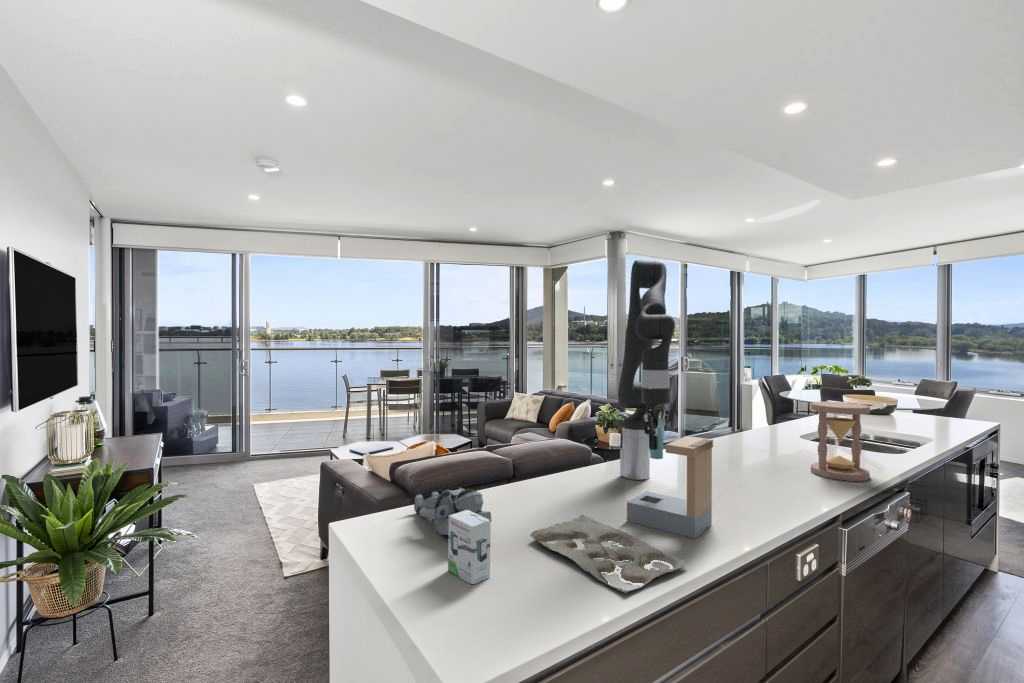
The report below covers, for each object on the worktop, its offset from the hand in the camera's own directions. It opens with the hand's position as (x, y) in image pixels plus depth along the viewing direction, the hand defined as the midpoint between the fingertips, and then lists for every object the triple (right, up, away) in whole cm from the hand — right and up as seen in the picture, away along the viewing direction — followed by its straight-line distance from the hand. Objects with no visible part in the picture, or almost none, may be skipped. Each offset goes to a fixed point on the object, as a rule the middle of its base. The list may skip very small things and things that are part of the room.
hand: (656, 448), depth 136 cm
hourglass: (+77, -18, +39) cm, 88 cm away
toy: (-56, -18, -10) cm, 60 cm away
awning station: (+1, -18, -7) cm, 19 cm away
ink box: (-49, -18, -35) cm, 63 cm away
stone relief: (-20, -19, -25) cm, 37 cm away
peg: (0, -3, 0) cm, 3 cm away
